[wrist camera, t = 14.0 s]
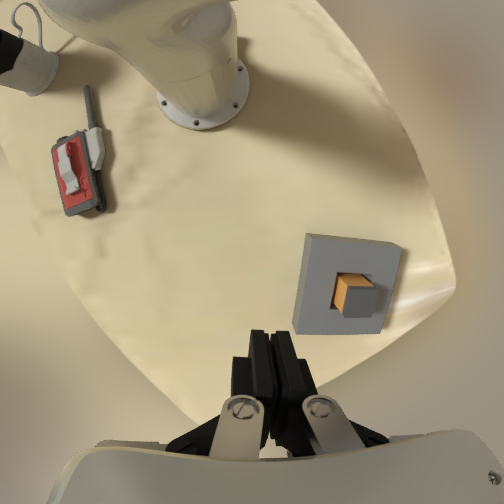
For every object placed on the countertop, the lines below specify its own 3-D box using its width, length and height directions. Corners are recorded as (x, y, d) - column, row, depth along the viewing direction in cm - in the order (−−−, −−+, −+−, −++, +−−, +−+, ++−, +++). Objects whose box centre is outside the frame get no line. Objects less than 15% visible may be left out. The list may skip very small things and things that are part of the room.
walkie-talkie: (121, 205, 37) (96, 84, 31) (108, 208, 32) (82, 76, 27) (76, 222, 37) (53, 108, 32) (61, 228, 32) (38, 104, 27)
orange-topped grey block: (333, 271, 40) (350, 289, 33) (357, 272, 40) (378, 289, 33) (329, 296, 41) (344, 318, 34) (352, 296, 41) (371, 317, 34)
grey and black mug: (18, 96, 29) (-37, 84, 15) (47, 29, 26) (2, 2, 12) (48, 96, 30) (-11, 78, 16) (79, 24, 27) (34, -11, 13)
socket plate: (305, 233, 38) (312, 238, 35) (390, 242, 39) (402, 248, 36) (292, 322, 42) (296, 334, 39) (371, 323, 43) (380, 333, 40)
